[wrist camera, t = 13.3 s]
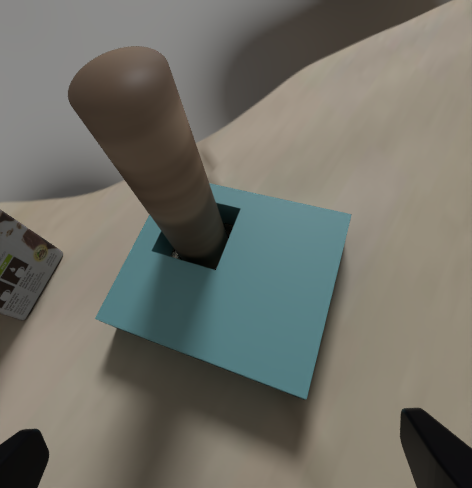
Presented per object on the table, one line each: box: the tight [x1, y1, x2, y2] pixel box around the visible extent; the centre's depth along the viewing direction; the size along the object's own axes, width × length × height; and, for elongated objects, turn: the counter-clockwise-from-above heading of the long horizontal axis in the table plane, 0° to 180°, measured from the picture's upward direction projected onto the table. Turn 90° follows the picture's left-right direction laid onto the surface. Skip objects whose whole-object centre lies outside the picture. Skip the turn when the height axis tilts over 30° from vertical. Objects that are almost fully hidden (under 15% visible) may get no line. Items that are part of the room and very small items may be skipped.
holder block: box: [95, 183, 352, 399], centre depth 23 cm, size 12×14×3 cm
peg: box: [68, 46, 228, 269], centre depth 19 cm, size 4×4×15 cm
